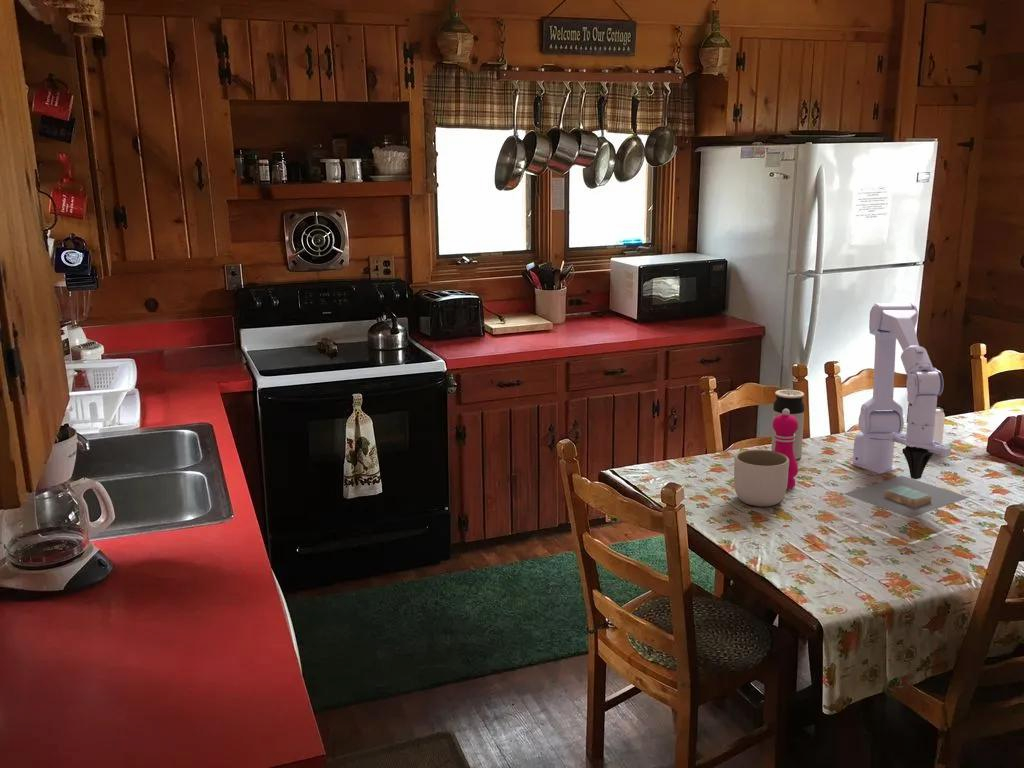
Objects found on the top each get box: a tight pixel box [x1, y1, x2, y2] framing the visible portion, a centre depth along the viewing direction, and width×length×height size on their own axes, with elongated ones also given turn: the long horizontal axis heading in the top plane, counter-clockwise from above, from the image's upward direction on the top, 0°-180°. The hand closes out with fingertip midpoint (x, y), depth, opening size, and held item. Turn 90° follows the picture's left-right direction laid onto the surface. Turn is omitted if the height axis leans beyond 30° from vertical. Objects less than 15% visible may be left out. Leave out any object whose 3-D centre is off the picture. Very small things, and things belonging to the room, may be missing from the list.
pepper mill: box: [772, 409, 799, 489], centre depth 219 cm, size 7×7×20 cm
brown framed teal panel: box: [885, 486, 931, 508], centre depth 209 cm, size 2×6×8 cm
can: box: [933, 406, 946, 455], centre depth 243 cm, size 6×6×12 cm
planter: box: [733, 448, 789, 508], centre depth 211 cm, size 12×12×11 cm
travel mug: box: [770, 389, 805, 460], centre depth 240 cm, size 8×8×18 cm
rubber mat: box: [843, 475, 970, 519], centre depth 212 cm, size 18×22×1 cm
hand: (915, 477), depth 206 cm, fingers closed
